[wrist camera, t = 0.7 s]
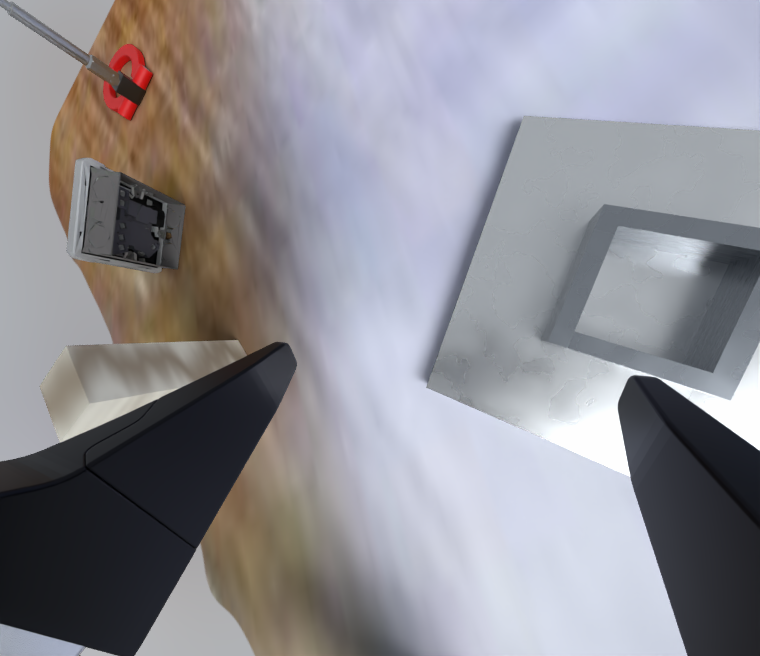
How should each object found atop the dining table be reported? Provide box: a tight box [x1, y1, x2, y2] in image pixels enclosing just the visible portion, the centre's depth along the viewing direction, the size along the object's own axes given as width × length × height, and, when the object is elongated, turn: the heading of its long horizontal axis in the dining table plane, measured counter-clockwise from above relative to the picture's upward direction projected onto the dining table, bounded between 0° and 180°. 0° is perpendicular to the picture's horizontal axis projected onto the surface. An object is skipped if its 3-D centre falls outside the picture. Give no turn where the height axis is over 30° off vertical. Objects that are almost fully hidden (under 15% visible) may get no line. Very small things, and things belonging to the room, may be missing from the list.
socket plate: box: [426, 116, 760, 476], centre depth 16 cm, size 20×20×4 cm
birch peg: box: [40, 340, 247, 442], centre depth 24 cm, size 4×4×13 cm
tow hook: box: [0, 0, 153, 120], centre depth 32 cm, size 8×13×9 cm
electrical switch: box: [67, 158, 185, 273], centre depth 30 cm, size 9×5×9 cm, turn 170°
